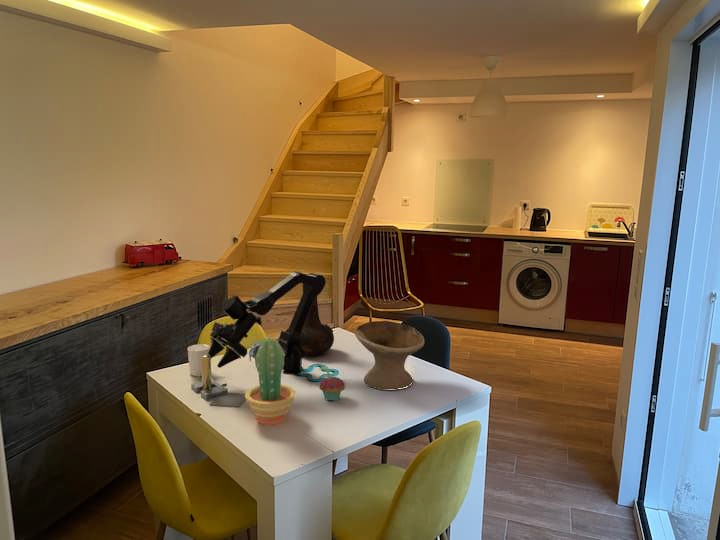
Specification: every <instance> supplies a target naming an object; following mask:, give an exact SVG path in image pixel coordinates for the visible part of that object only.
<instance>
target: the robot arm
mask: <svg viewBox="0 0 720 540" xmlns="http://www.w3.org/2000/svg"><path fill="white" fill-rule="evenodd" d="M326 283H327V281H326V278H325V277H324V276H323V274H322V275H321V274H318V273H313V272H309V273H307V274H305V273H302V272H299V271H292V272H290V274H289V275H288V276H287V277H285V278H284V279H282V280H280V282H278V283H277V284H275V286H274V285H273V287H271V288H270V289H269V290H267V291H265V292H262V293H258V294H257V295H255V296H253V297H251V298H250V299H249V300H246V301H242V300H241V299H240V297H239V296H238V295H236V294H233V296H232V297H229V298H228V299H226V300H224V302H223V303H222V305H221V306H220V307H221V310H222V311H223V312H224V313H225V314H226V315H227V316H228V317H230V319H232V320H234V321H235V320H236V321H235V322H234V323H232V322H231V323H230V324H227V323H224V324H223V323H219V322H217V321H215V322H214V323H213V326H212V328H211V331H212V332H211V333H210V334H209V336H210V337H209V338H210V340H211V341H210V343H211V345H210V350H209V352H208V355H211V359H213V358H214V357H215V356H217V355H218V354H219V353H221V352H222V351H223V350H224V349H225V353H224V354H223V356H222V357H221V359H220V360H219V361H218V364H217V368H219V369H221V368H222V367H224V366H226V365H228V364H230V363H232V362H234V361H237V360H239V359H242V357H243V358H245V357H246V356H247V354H248V349H247V347H245V346H244V345H243V344H241V342H242V340H243V339H244V338H245V339H247V338H248V337H249V335H248V333H249V332H250V331H251V330H252V328H253V327H254V325H256V324H257V325H258V326H261V325H262V318H261V316H265V315H267V314H268V313H269V312H270V311H271V310H272V309H273V307H274V306H275V303H276V302H277V301H278V300H279V299H281V298H283V296H285V295H286V294H288V292H290V291H292V289H294V288H296V286H298V285H299V284H302V295H301V298H300V300H299V301H298V304H297V307H296V308H295V309H296V310H295V311H294V314H293V317H292V319H291V321H290V324H289V327H288V328H287V329H286V330H281V331H280V335H279V336H278V338H277V339H276V340H277V341H278V343H279V344H280V346H281V347H282V349H283V351H284V353H285V354H284V367H283V370H282V373H283V374H294V375H295V374H296V375H298V374H297V373H300V374H301V372H302V371H303V369H304V367H303V358H304V357H305V356H306V355H305V351H304V350H303V349H302V348H301V347H300V344H301V331H302V328H303V326H304V323H305V321H306V319H307V316H308V314H309V311H310V309H311V306H312V304H313V301H314V299H315V298H316V297H317V298H318V296H319V295H321V293H322V291H323V290H324V288H325V286H326ZM248 311H250V312H248ZM255 314H257V315H259V316H256V315H255ZM301 370H302V371H301Z"/></svg>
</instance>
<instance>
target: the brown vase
mask: <svg viewBox="0 0 720 540" xmlns="http://www.w3.org/2000/svg"><path fill="white" fill-rule="evenodd" d="M334 342H335V335H334V330H333V328H331V327H330V326H329V325H328V324H324V323H322V322H321V319H320V314H319V305H318V296H317V297H316V298H315V299H314V301H313V304H312V306H311V309H310V311H309V314H308V316H307V319H306V321H305V323H304V326H303V328H302V331H301V344H300V347H301V348H302V349H303V350H304V351H305V355H304V356H312V357H313V356H316V357H317V356H321V355H323V354H325V353H327V352H329V350H330V349H331V348H332V347H333V345H334Z"/></svg>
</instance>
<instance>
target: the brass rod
mask: <svg viewBox="0 0 720 540" xmlns="http://www.w3.org/2000/svg"><path fill="white" fill-rule="evenodd" d="M211 359H212V358H211V355H208V354H206V355H202V356H201V360H202V376H201V381H202V390H206V389H211V379H212V360H211Z"/></svg>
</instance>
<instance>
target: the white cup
mask: <svg viewBox="0 0 720 540" xmlns="http://www.w3.org/2000/svg"><path fill="white" fill-rule="evenodd" d="M210 347H211V345H208V344H192V345H190V346H188V347H187V357H188V365H189V374H190V375H191V376H195V377H202V360H201V356H202V355H206V354H208V352H209V350H210Z"/></svg>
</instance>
